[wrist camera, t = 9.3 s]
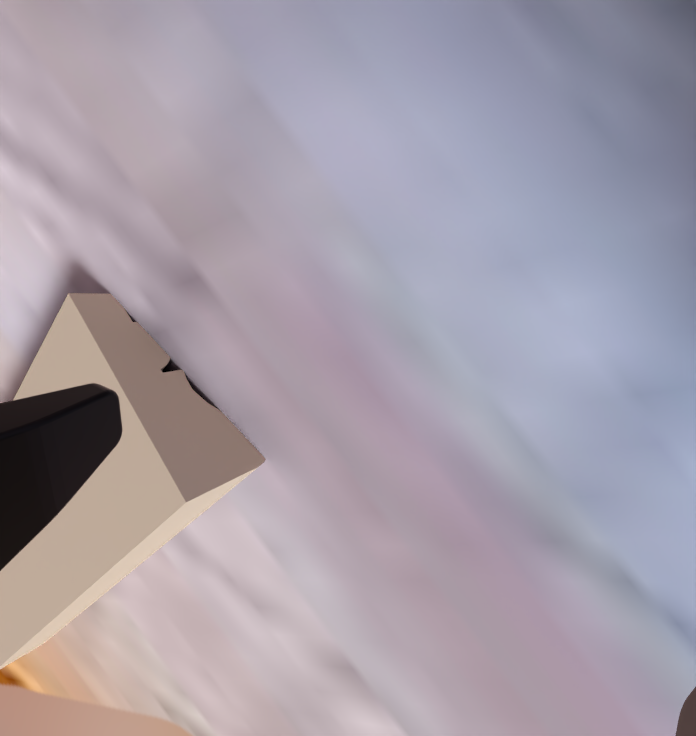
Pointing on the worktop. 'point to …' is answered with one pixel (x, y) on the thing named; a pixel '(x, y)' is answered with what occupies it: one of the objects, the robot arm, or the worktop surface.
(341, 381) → the worktop surface
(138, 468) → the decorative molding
